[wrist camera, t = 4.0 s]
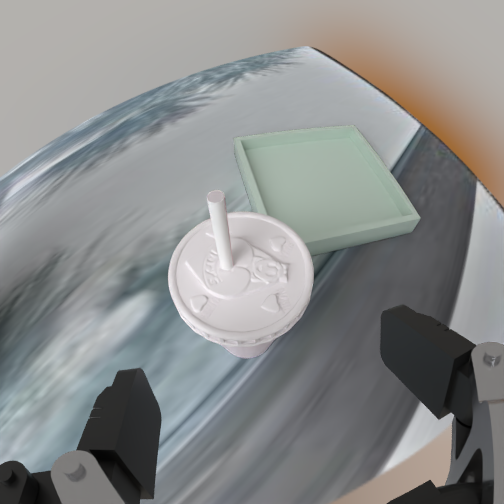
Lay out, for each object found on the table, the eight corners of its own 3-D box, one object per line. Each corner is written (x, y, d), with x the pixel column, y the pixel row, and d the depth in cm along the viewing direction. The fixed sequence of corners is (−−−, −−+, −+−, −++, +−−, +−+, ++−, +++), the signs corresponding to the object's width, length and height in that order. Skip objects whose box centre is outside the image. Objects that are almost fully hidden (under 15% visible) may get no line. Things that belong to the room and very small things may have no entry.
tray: (269, 265, 24) (270, 250, 22) (234, 154, 31) (233, 138, 29) (411, 232, 25) (420, 218, 24) (350, 139, 33) (354, 125, 31)
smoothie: (211, 288, 23) (168, 134, 11) (295, 297, 22) (333, 144, 10) (195, 369, 19) (102, 278, 8) (287, 381, 19) (342, 308, 7)
